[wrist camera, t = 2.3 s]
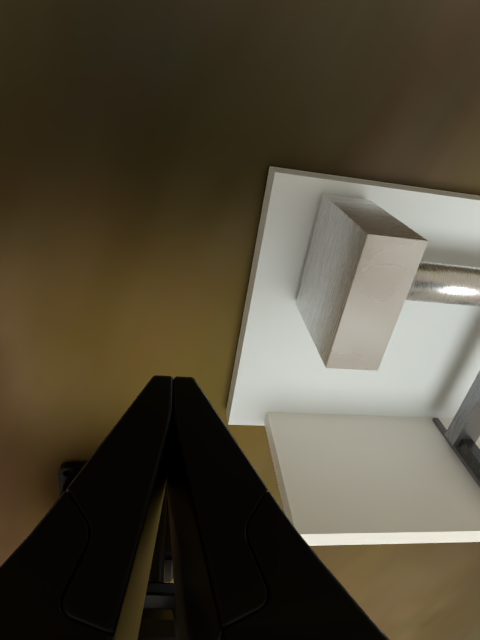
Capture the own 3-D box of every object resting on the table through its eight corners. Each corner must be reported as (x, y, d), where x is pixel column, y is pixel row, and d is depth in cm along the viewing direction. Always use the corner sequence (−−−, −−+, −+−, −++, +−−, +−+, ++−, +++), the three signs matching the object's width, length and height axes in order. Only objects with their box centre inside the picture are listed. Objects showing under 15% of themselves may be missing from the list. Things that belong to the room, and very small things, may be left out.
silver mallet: (269, 409, 22) (294, 510, 17) (322, 193, 17) (384, 248, 11) (469, 416, 24) (545, 508, 19) (577, 227, 19) (726, 286, 13)
